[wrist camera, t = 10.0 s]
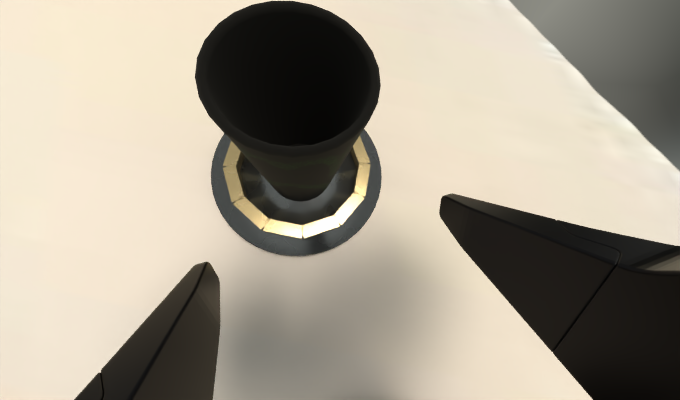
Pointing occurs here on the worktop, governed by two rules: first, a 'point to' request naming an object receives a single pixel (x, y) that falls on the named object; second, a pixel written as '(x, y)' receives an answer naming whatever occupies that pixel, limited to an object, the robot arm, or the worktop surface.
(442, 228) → the worktop surface
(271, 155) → the cup
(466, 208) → the robot arm
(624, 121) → the worktop surface
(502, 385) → the worktop surface
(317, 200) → the flange plate
